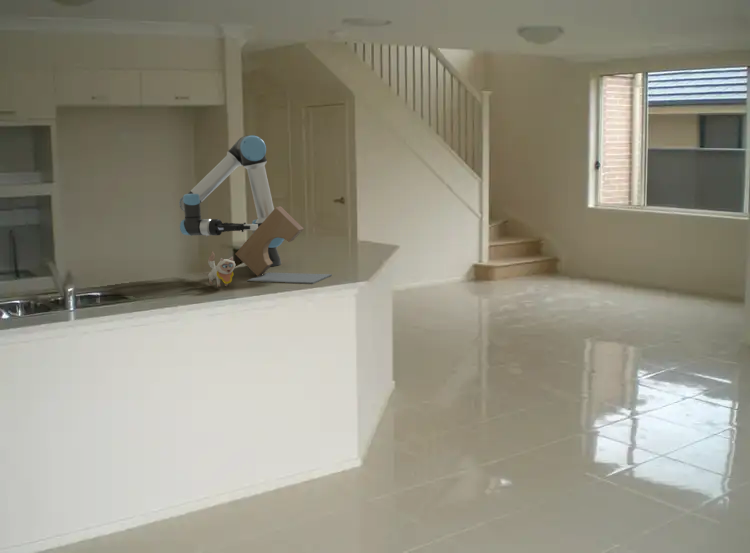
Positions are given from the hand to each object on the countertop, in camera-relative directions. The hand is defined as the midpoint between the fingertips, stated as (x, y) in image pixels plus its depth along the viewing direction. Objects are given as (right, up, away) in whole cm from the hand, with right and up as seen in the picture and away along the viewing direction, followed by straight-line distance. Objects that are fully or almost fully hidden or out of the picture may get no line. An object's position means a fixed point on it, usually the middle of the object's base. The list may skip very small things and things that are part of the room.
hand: (257, 227), depth 408 cm
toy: (-14, -27, -21) cm, 37 cm away
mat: (+15, -24, -5) cm, 29 cm away
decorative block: (-5, -17, +7) cm, 19 cm away
